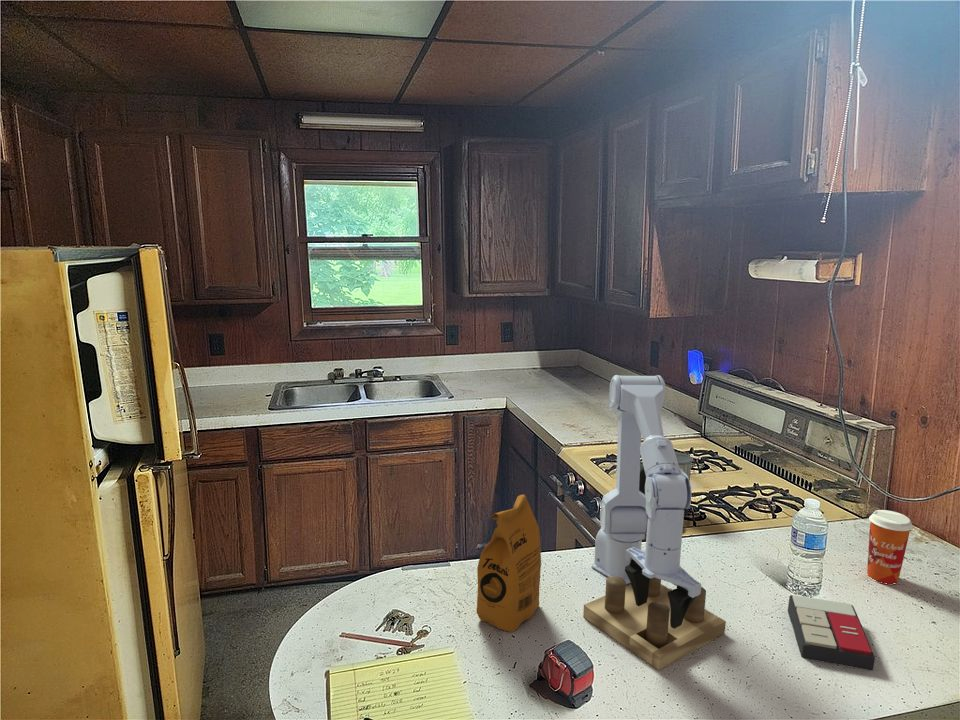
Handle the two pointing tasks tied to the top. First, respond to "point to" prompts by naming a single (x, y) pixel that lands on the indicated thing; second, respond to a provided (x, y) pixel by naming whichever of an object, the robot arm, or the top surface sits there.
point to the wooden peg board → (630, 622)
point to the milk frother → (683, 463)
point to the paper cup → (887, 545)
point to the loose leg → (657, 624)
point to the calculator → (830, 632)
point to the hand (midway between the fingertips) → (658, 614)
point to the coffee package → (510, 569)
